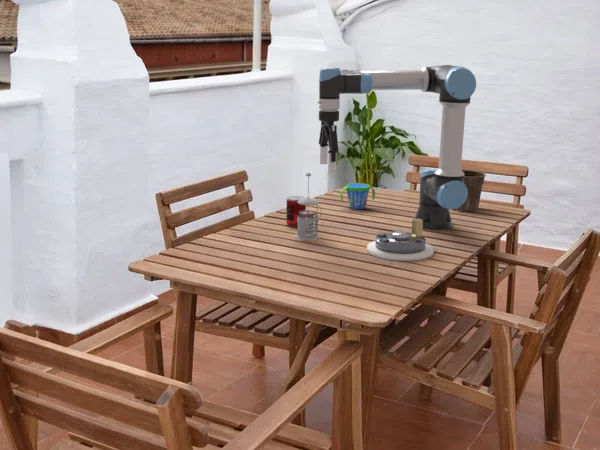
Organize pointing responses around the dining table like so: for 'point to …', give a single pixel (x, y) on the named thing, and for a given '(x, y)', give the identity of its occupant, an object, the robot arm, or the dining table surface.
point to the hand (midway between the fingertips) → (327, 167)
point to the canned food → (294, 210)
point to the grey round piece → (402, 240)
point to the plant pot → (472, 190)
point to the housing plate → (400, 257)
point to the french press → (309, 232)
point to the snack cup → (357, 195)
